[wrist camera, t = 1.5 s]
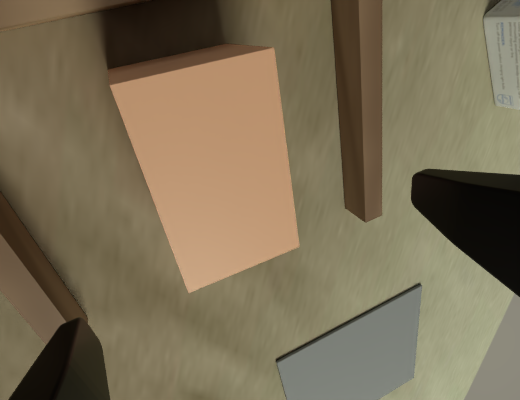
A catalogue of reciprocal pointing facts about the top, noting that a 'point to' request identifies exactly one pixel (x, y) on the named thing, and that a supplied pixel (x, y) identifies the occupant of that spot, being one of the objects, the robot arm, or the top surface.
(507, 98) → the light bulb box
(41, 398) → the robot arm
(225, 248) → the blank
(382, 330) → the grey mat
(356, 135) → the brown u-shaped frame
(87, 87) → the top surface
